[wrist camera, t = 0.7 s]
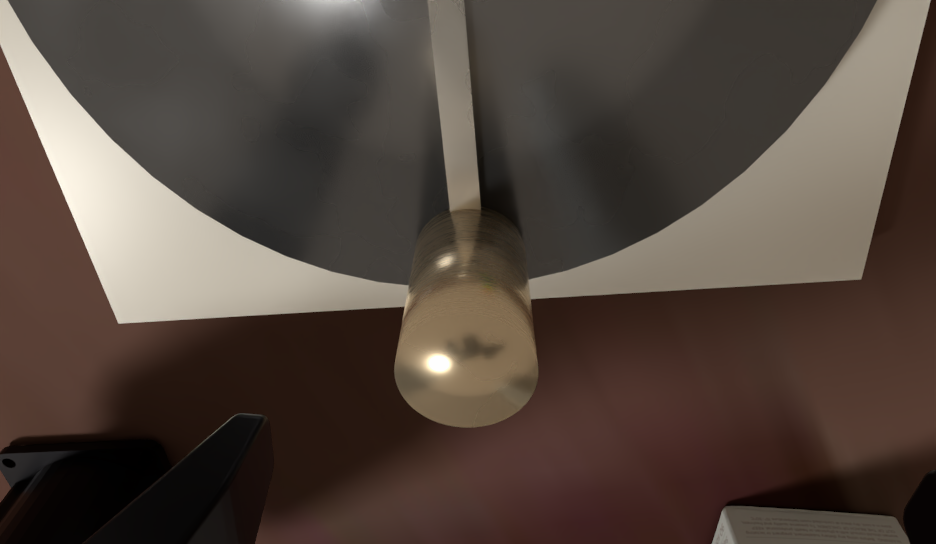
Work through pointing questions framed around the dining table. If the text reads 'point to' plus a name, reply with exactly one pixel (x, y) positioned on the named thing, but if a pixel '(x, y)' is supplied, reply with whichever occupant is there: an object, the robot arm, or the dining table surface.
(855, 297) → the dining table surface
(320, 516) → the dining table surface
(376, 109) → the handwheel
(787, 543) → the supplement box
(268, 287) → the base plate
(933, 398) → the dining table surface
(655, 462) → the dining table surface
